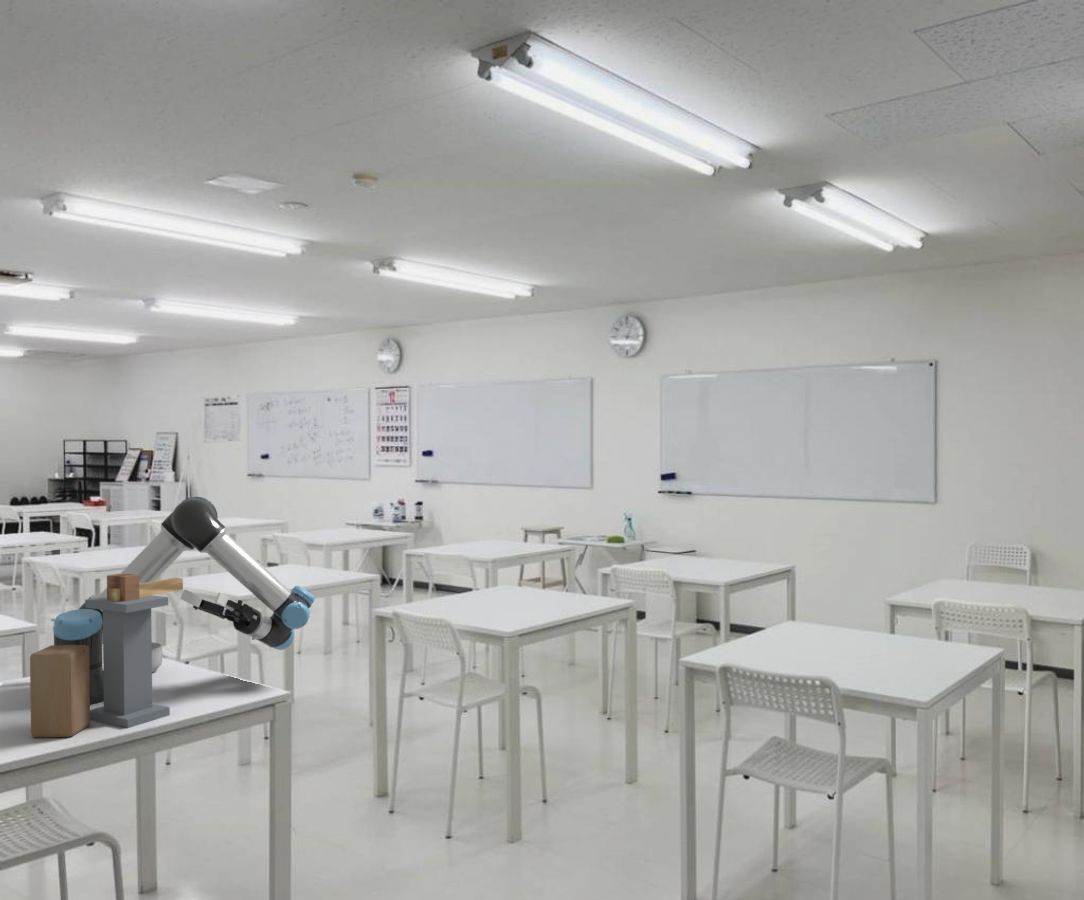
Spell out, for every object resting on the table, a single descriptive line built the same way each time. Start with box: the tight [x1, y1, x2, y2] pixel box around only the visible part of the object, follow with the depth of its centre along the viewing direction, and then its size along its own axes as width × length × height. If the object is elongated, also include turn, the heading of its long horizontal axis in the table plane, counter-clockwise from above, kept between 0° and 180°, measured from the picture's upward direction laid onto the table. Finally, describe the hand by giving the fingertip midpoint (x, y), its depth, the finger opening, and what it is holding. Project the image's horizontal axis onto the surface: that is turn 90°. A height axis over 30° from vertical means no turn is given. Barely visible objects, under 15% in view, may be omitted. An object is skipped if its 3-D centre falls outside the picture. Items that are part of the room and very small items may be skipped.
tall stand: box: [84, 595, 171, 729], centre depth 233 cm, size 16×12×30 cm
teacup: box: [152, 641, 163, 673], centre depth 279 cm, size 14×11×8 cm
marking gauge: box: [106, 572, 184, 601], centre depth 238 cm, size 7×20×6 cm, turn 151°
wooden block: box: [29, 644, 91, 739], centre depth 221 cm, size 10×10×20 cm
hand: (199, 595), depth 253 cm, fingers open, 13 cm apart
